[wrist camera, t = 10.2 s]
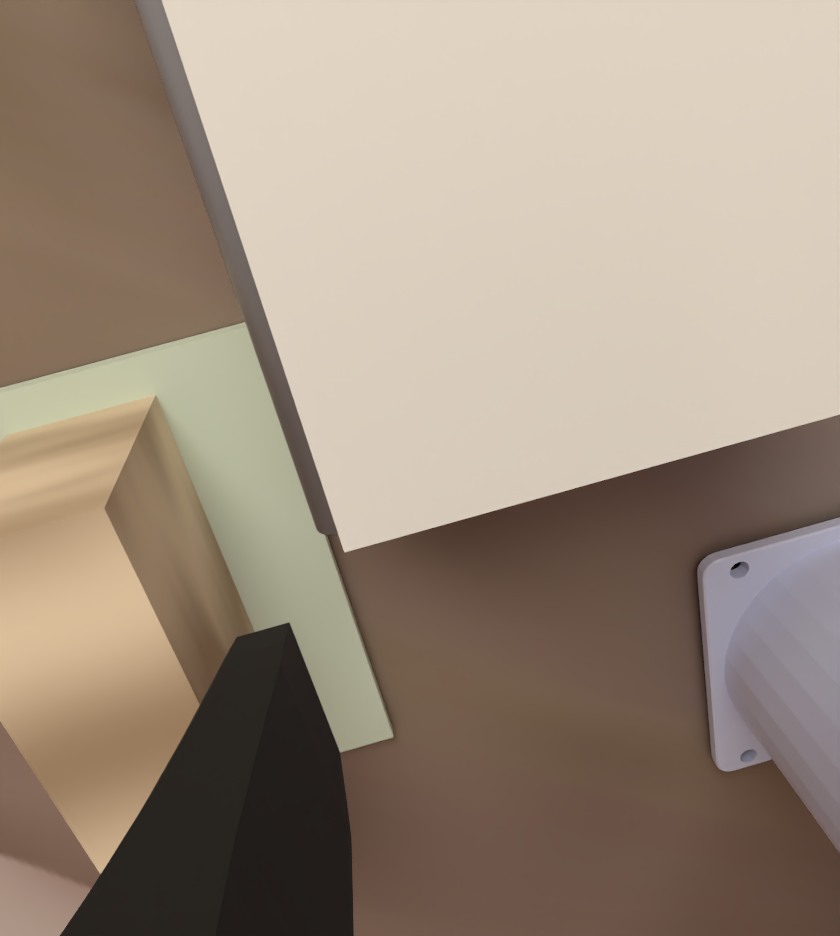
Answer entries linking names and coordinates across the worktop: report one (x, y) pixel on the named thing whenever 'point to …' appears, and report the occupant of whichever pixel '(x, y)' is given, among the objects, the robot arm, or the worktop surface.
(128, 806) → the wooden block
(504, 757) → the worktop surface
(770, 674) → the robot arm
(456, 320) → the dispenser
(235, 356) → the mat
